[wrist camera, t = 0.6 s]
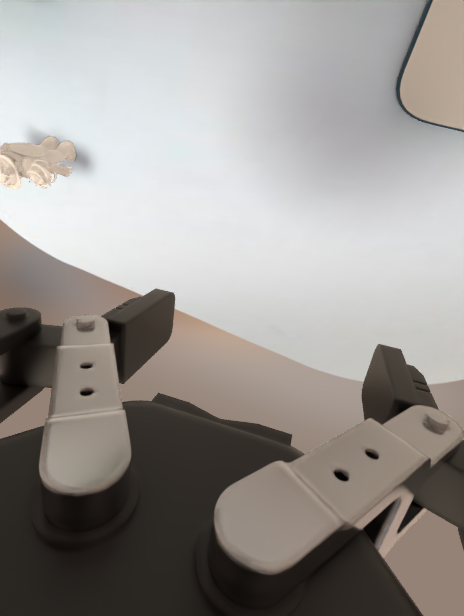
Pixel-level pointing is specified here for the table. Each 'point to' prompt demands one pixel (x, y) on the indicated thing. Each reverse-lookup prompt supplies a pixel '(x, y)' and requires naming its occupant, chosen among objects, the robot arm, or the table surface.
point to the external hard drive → (435, 67)
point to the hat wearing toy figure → (34, 162)
